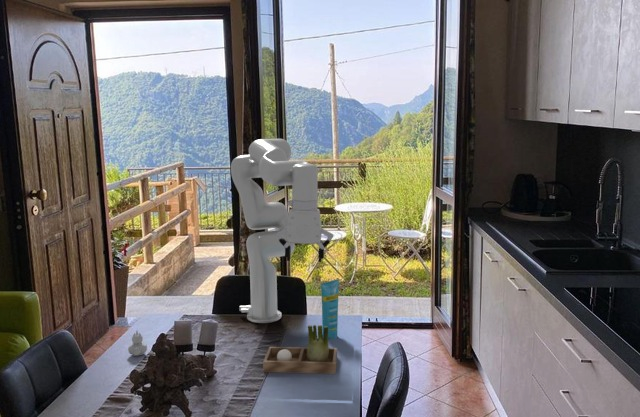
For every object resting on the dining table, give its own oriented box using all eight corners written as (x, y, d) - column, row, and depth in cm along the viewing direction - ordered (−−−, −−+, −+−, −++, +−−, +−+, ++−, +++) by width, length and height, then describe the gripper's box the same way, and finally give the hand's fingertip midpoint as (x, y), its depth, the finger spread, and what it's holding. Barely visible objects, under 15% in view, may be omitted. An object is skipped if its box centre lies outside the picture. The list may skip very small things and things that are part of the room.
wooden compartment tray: (263, 373, 157) (263, 361, 156) (269, 357, 167) (269, 346, 167) (335, 375, 155) (335, 363, 155) (337, 359, 166) (337, 348, 165)
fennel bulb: (330, 364, 161) (330, 324, 159) (320, 370, 157) (320, 330, 155) (314, 359, 164) (313, 320, 163) (304, 365, 160) (303, 325, 159)
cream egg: (275, 367, 159) (275, 352, 159) (278, 360, 164) (277, 346, 163) (291, 367, 159) (290, 353, 158) (293, 361, 163) (292, 346, 163)
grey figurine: (148, 350, 174) (147, 326, 173) (146, 359, 167) (144, 334, 166) (130, 352, 173) (128, 327, 172) (127, 360, 166) (125, 335, 165)
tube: (327, 342, 179) (326, 284, 176) (317, 338, 182) (316, 281, 179) (343, 335, 184) (343, 279, 181) (332, 331, 187) (332, 276, 184)
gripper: (274, 206, 162) (274, 262, 166) (332, 208, 161) (331, 265, 164) (278, 202, 170) (278, 255, 173) (334, 203, 168) (333, 257, 172)
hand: (304, 260), depth 169 cm, fingers open, 9 cm apart
